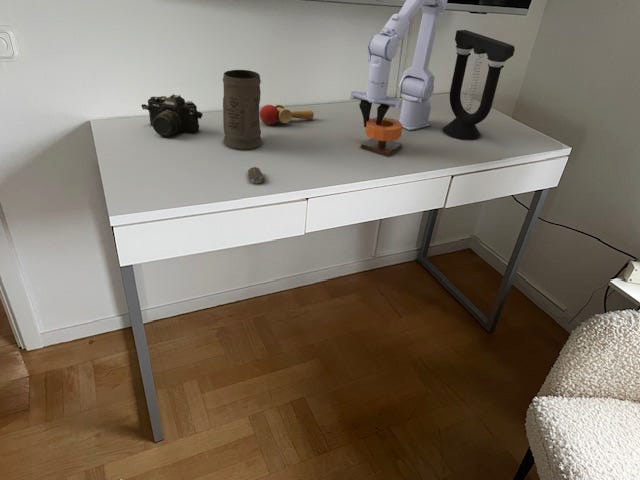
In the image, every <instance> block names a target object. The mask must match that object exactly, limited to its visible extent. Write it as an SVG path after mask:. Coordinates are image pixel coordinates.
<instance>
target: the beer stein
mask: <svg viewBox="0 0 640 480" xmlns="http://www.w3.org/2000/svg"><path fill="white" fill-rule="evenodd" d="M222 83H223V96H222V119H223V120H222V122H223V123H222V124H223V126H222V127H223V133H224V136H223V144H224V145H225V146H226V147H228V148H230V149H233V150H242V151H243V150H246V151H247V150H252V149H256V148H258V147H260V146H261V145H262V137H261V134H262V129H261V124H260V123H261V121H260V120H261V118H260V103H261V83H262V81H261V75H260V74H259V72H257V71H254V70H249V69H232V70H231V69H230V70H226V71H224V72H223V76H222Z"/></svg>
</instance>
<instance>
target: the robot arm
mask: <svg viewBox="0 0 640 480" xmlns="http://www.w3.org/2000/svg"><path fill="white" fill-rule="evenodd" d="M447 5H448V0H405V1H404V3H403V5H402V7H401V8H400V10H399V11H398V13H394V14H392V15H391V16H390V18H389V19H388V21H387V22H386V23H385V25H384V26H383V27H382V29H381V30H380V32H379V33H376V34H375V35H372V36H371V37H370V39H369V41H368V45H367V53H368V63H369V68H368V75H367V76H368V77H367V83H366V84H367V85H366V92H363V91H357V90H356V91H355V90H352V91H351V92H350V97H349V98H350V100H353V101H354V100H357V101H360V102H359V104H358V106H359V109H360V112H361V115H362V119H363V128H366V122H367V121H368V120H369V119H371V118H370V117H371V111H372V105H373V104H376V105H378V106H377V107H376V111H377V112H376V117H377V121H376V124H377V125H379V126H380V125H381V122H382V120H383V118H384V117H385V116H386V114H387V112H388V111H389V109H390V108H394V109H396V110H399V109H400V108H401V109H400V115H399V119H396V120H397V121H399V122H400V123H401V124H402V125H403V126H402V128H403V129H405V130H408V131H413V130H418V129H422V128H426V127H430V124H429V118H430V114H431V108H432V104H431V100H430V99H431V97H432V96H433V93H434V90H435V75H434V74H433V72H431V70H430V69H429V65H430V61H431V57H432V52H433V47H434V42H435V38H436V33H437V29H438V26H439V20H440V17H441V16H440V15H441V12H444V11H446V7H447ZM420 9H421V11H422V17H421V21H420V25H419V30H418V36H417V40H416V45H415V50H414V54H413V60H412V64H411V66H410V67H408V68H407V69H405V70H404V71H403V73H402V77H401V79H400V81H399V85H398V90H399V94H401V95H400V96H401V98H402V100H401V99H397V98H393V97H390V96H387V94H388V87H389V81H390V74H391V67H392V60H393V59H394V58H395V57H396V55H397V53H398V50H399V47H400V44H401V43H400V42H401V40H402V39H403V37H404V36H405V35H406V34H407V32H408V30H409V29H410V21H411V20H412V19H413V17H414V16H415V15H416V14H417V13H418V12H419V11H420Z"/></svg>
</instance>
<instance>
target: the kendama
mask: <svg viewBox="0 0 640 480" xmlns="http://www.w3.org/2000/svg"><path fill="white" fill-rule="evenodd" d="M259 119H260V120H261V122H262V123H263V124H264V125H268V126H270V125H274V124H275V123H278V122H280V123H283V124H288V123H290V122H291V121H292V119H299V120H300V119H301V120H309V121H310V120H311V121H312V120H314V111H313V110H292V111H290V110H289V108H285V107H284V106H283V105H281V104H275V105H273V104H266V105H264V106H262V107H261V108H260V109H259Z"/></svg>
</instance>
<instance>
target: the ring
mask: <svg viewBox="0 0 640 480" xmlns="http://www.w3.org/2000/svg"><path fill="white" fill-rule="evenodd" d="M397 120H398V119H394V118H390V117H385V116H384V118H383V120H382V122H381V125H380V126H379V125H377V124H376V121H377V116H376V117H372V118H369V120H368V121H367V122H366V127H365V134H366V136H367V137H368V138H370V139H371V138H372V139H375V140H380V141H397V140H399V139H400V138H401V137H402V132H403V127H402V126H403V125H402V124H401V123H400V122H399V121H397ZM382 125H385V126H388V127H383V126H382Z"/></svg>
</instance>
